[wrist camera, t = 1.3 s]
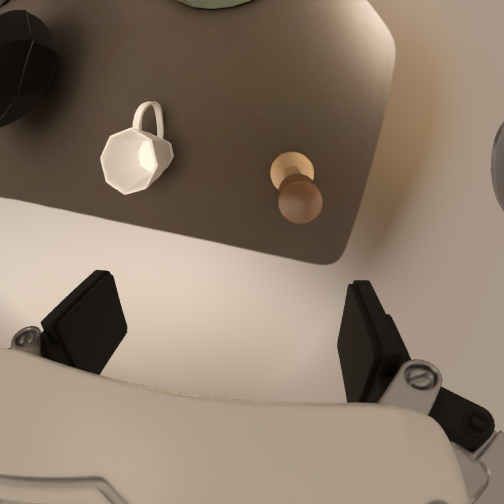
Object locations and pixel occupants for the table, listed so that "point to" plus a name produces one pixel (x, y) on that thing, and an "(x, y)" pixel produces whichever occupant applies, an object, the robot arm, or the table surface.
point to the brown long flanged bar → (296, 187)
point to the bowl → (212, 3)
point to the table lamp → (24, 63)
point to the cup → (136, 154)
